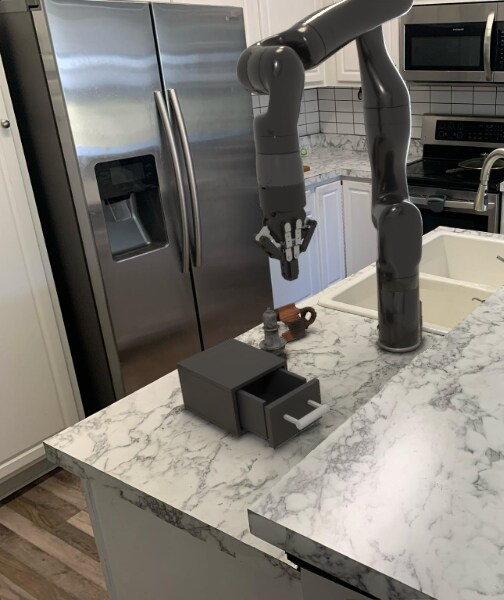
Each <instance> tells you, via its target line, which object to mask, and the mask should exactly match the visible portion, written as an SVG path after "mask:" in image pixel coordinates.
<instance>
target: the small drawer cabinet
mask: <svg viewBox="0 0 504 600" xmlns="http://www.w3.org/2000/svg"><path fill="white" fill-rule="evenodd" d="M280 367H281V368H283V369H286V370H288V371H289V367H288V360H287V358H286V359H283V358H281V357H279V356H276V355H274V354H271V353H269V352H266V351H264V350H261V348H260V347H256V346H254V345H251V344H248V343H246V342H244V341H241V340H239V339H236V338H234V337H231V338H229V339H226V340H224V341H222V342H220V343H218V344H215V345H213V346H211V347H209V348H207V349H204V350H203V351H200V352H198V353H196V354H193V355H191V356H189V357H187V358H184V359H182V360H179V361H178V362H176V368H177V369H176V370H177V374H178V380H179V385H180V390H181V397H182V400H183V401H182V402H183V406H184V409H185V410H188V411H189V412H191V413H193V414H194V415H196V416H198V417H199V418H202V419H204V420H206V421H207V422H210V423H211V424H213V425H215V426H217V427H218V428H219V429H220V428H221V429H222V430H224V431H226V432H228V433H229V434H231V435H233V436H235V437H237V438H239V437H240V436H243V435H244V434H246V433H247V432H250V431H249V430H247V429H245V428H243V427H241V426H240V421H239V414H238V408H237V401H236V394H235V391H237V390H238V389H240V388H242V387H244V386H246V385H248V384H250V383H252V382H253V381H255V380H257V379H259V378H261V377H263V376H265V375H267V374H268V373H270V372H272V371H274V370H276V369H278V368H280Z"/></svg>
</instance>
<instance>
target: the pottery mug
mask: <svg viewBox="0 0 504 600" xmlns="http://www.w3.org/2000/svg"><path fill="white" fill-rule="evenodd" d="M271 310H272V311H274V312H275V313H276V316H277V323H279V322H281V323H283V324H284V325H286V326H287V328H288V330H287V331H284V332H282V333H281V338H284V339H285V340H286V342H287V343H288V342H291V341H293V340H296V339H300V338H304V337H305V336H306V335H307V330H309V327H310V326H311V325H313V324H314V323H315V321H316V319H317V317H318V312H317V311H316V309H315V308H314V307H313V306H304V307H301V308H300V307H297V306H296V303H295V302H291V303H287V304H284V305H282V306H279V307H276V308H273V309H271ZM308 313H310V316H309V319H307V317H306V316H307V314H308Z"/></svg>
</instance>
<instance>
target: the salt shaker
mask: <svg viewBox="0 0 504 600" xmlns="http://www.w3.org/2000/svg"><path fill="white" fill-rule="evenodd" d="M272 310H273V309H271V307H269V306H268V307H267V308H266V310H265V311H264V312H263V313H262V323H263V325H262V327H261V329H262V330H263V334H264V339H262V340H260V341H259V343H258V348H259V349H261V350H264V351H266V352H269V353H271V354H274V355H276V356H279V357H281V358H283V359H286V360H287V357H288V355H287V353H285V352H284V351H285V349H286V346H287V343H288V342H286V340H285V339H284V338H283V337H282V336H280V333H279V329H280V324H278V322H277V316H276V313H275V312H274V311H272Z"/></svg>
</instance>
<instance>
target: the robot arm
mask: <svg viewBox="0 0 504 600" xmlns="http://www.w3.org/2000/svg"><path fill="white" fill-rule="evenodd" d="M414 2H415V0H339V1H337V2H333V3H330V4H327V5H325V6H323V7H321V8H319V9H316V10H315V11H313V12H311V13H310V14H308V15H306V16H305V17H304V18H302V19H300V20H299V21H297V22H295V24H292V26H290V27H289V28H288V29H286V30H285V29H284V30H282V31H281V32H278V33H275V34H272V35H271V36H268V37H265V38H263V39H261V40H258V41H256V42H254V43H252V44H251V45H249V46H248V47H246V48H245V49H244V50H243V51H242V52H241V54H240V56H239V57H238V59H237V62H236V66H235V73H236V78H237V80H238V83H239V84H240V86H241V87H242V88H243V89H244V90H245V91H246V92H249V93H251V94H254V95H257V96H258V95H259V96H268V103H267V109H266V110H265V111H262V112H259V113H257V114H256V115H255V116H254V118H253V120H252V129H253V141H254V149H255V172H256V181H257V187H258V188H257V190H258V198H259V200H258V201H259V207H260V209H261V210H262V214H263V217H262V223H261V225H262V228H261V230H260V231H259V233H253V234H252V241H254V243H255V244H256V245H257V246H258V247H259V248H260V249H261V250H262V251H263V252H264V254H266V255H267V256H268V257H269V258H270V259H273V260H277V261H279V264H280V265H279V266H280V275H281V277H282V278H283V280H284V281H287V282H293V281H295V280H298V279H299V274H300V269H299V268H300V266H299V265H300V264H299V258H300V256H301V254H302V253H305V252H306V251H307V250H308V247H309V245H310V242H311V240H312V238H313V235H314V233H315V231H316V228H317V226H318V221H317V220H316V219H311V218H309V217H308V216H307V211H306V210H305V208H306V206H307V193H306V180H305V168H304V167H305V166H304V162H303V161H304V160H303V157H302V150H301V141H300V140H301V139H300V130H299V129H300V128H299V121H300V116H301V111H302V105H303V98H304V93H305V85H306V72H309V71H312V70H315V69H316V68H317V67H319V66H321V65H322V64H323V63H324V62H326V61H327V60H329V59H330V58H331V57H334V55H336V54H337V53H338V52H340V51H341V50H342V49H343V48H345V47H347V46H348V45H350V44H351V43H352V42H354V41H355V47H356V51H357V52H356V53H357V60H358V67H359V77H360V78H359V79H360V85H361V86H360V87H361V99H362V115H363V124H364V131H365V132H364V133H365V140H366V148H367V155H368V160H369V165H370V171H371V172H370V174H371V176H370V177H371V197H370V199H371V202H370V213H371V214H370V218H371V223H372V225H373V227H374V229H375V230H376V231H377V237H378V256H377V258H376V260H375V275H376V277H375V278H376V298H377V299H376V301H377V303H376V304H377V325H376V331H378V343H377V344H378V346H379V347H380V349H382V350H384V351H386V352H390V353H406V352H412V351H413V350H416V349H418V348H419V347H420V345H421V341H422V340H423V304H422V303H423V302H422V300H421V298H420V297H421V296H420V264H421V261H422V258H423V234H424V233H423V232H424V231H423V229H424V228H423V218H422V214H421V211H420V210H419V208H418V207H417V206H416V205H415V204H414V203H413V202H412V201H411V199H410V193H409V188H408V179H407V159H408V154H409V149H410V144H411V138H412V111H411V109H412V108H411V96H410V92H409V89H408V87H407V84H406V83H405V80H404V78H403V77H402V75H401V74H400V72H399V70H398V69H397V66H396V65H395V63H394V62H393V60H392V58H391V57H390V54H389V52H388V49H387V46H386V42H385V34H384V29H383V28H384V27H383V25H384V24H386V23H389V22H391V21H393V20H396V19H398V18H400V17H403V16H405V15H407V14H408V12H410V10H411V9H412V7H413V6H414Z"/></svg>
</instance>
